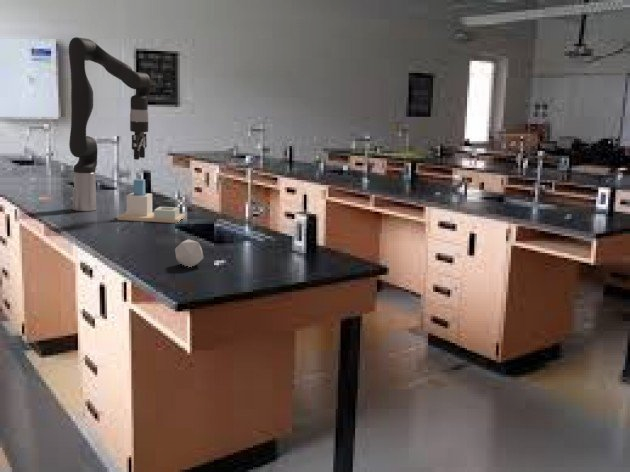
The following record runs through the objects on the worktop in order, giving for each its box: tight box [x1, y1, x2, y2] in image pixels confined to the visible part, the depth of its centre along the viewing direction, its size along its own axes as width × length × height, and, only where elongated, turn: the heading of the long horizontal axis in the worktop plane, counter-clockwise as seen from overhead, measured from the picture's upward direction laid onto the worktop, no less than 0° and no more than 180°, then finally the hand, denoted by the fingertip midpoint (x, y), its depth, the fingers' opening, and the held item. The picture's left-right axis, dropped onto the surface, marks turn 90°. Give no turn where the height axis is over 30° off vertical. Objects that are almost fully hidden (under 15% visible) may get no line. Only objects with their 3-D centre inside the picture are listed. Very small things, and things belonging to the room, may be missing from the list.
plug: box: [133, 178, 146, 196], centre depth 279 cm, size 4×4×10 cm
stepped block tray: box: [117, 192, 186, 224], centre depth 278 cm, size 26×14×10 cm, turn 89°
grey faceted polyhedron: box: [174, 238, 204, 268], centre depth 204 cm, size 8×9×10 cm
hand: (139, 158), depth 276 cm, fingers open, 8 cm apart
